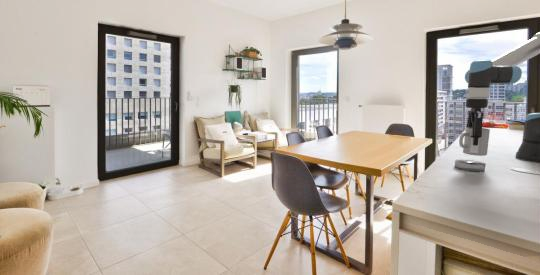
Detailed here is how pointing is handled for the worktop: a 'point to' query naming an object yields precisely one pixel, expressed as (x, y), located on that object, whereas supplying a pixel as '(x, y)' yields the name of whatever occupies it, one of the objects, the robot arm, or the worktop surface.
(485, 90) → the robot arm
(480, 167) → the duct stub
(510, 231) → the worktop surface
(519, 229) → the worktop surface
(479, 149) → the mug
